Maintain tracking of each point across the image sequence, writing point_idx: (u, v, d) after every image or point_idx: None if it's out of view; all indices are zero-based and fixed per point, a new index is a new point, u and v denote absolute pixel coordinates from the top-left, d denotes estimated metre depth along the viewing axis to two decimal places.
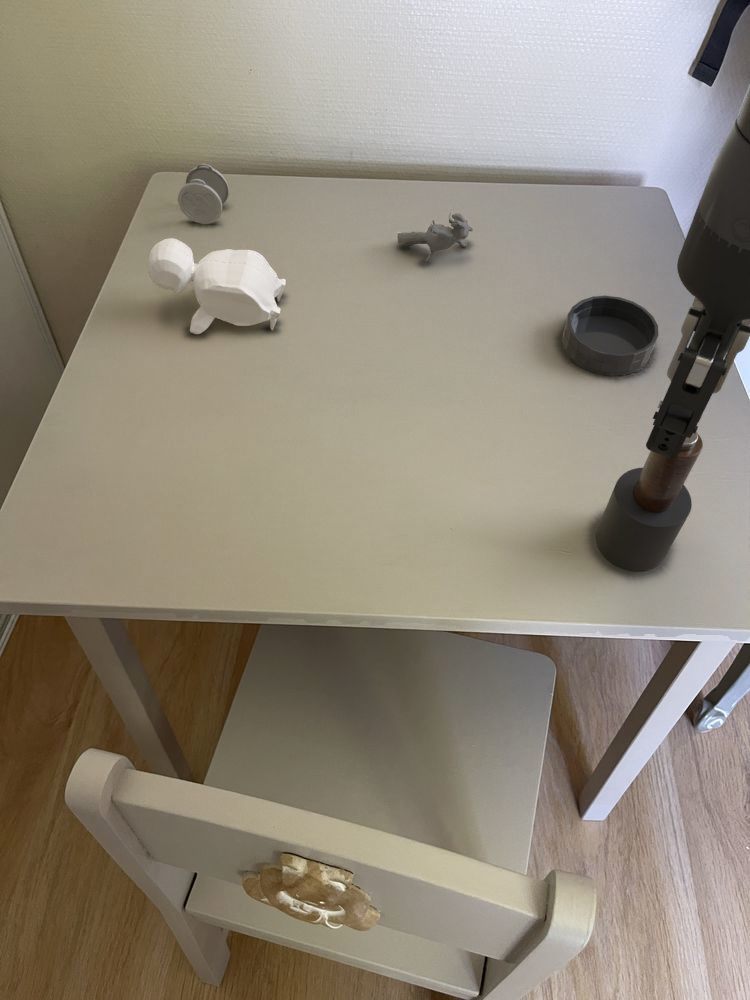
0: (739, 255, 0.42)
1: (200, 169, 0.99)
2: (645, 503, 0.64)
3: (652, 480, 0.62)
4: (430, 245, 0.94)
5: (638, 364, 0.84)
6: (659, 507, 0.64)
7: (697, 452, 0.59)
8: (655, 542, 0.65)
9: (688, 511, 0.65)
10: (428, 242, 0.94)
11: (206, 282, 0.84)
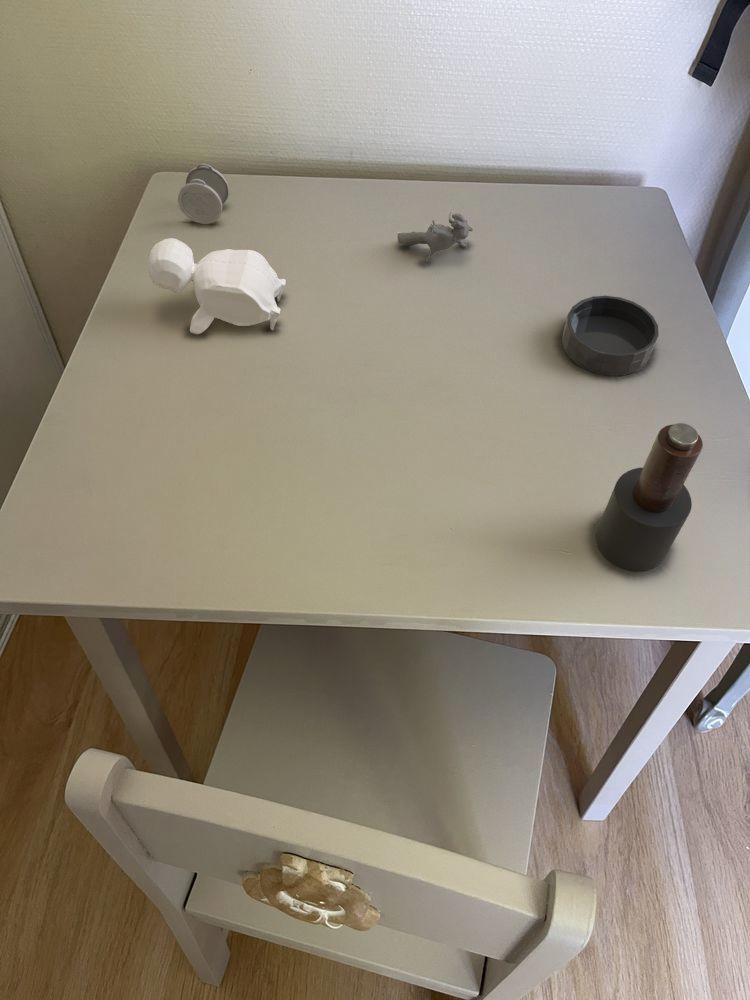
0: None
1: (200, 169, 0.99)
2: (645, 503, 0.64)
3: (652, 480, 0.62)
4: (430, 245, 0.94)
5: (638, 364, 0.84)
6: (659, 507, 0.64)
7: (697, 452, 0.59)
8: (655, 542, 0.65)
9: (688, 511, 0.65)
10: (428, 242, 0.94)
11: (206, 282, 0.84)
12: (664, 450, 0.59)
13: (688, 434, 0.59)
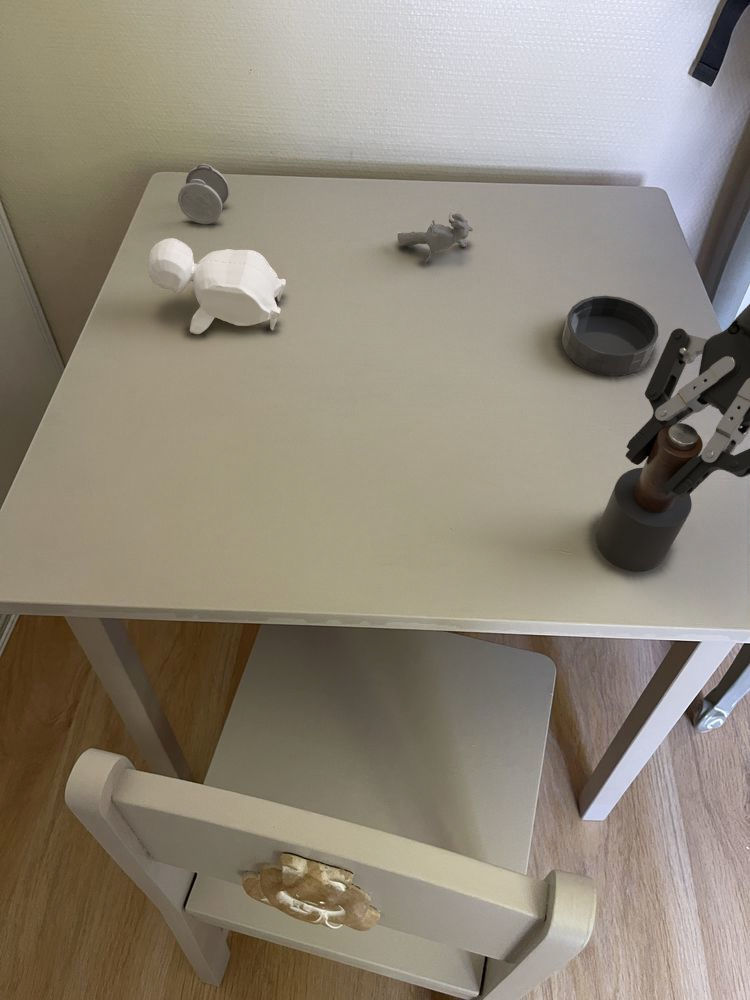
0: None
1: (200, 169, 0.99)
2: (645, 503, 0.64)
3: (652, 480, 0.62)
4: (430, 245, 0.94)
5: (638, 364, 0.84)
6: (659, 507, 0.64)
7: (697, 452, 0.59)
8: (655, 542, 0.65)
9: (688, 511, 0.65)
10: (428, 242, 0.94)
11: (206, 282, 0.84)
12: (664, 450, 0.59)
13: (688, 434, 0.59)
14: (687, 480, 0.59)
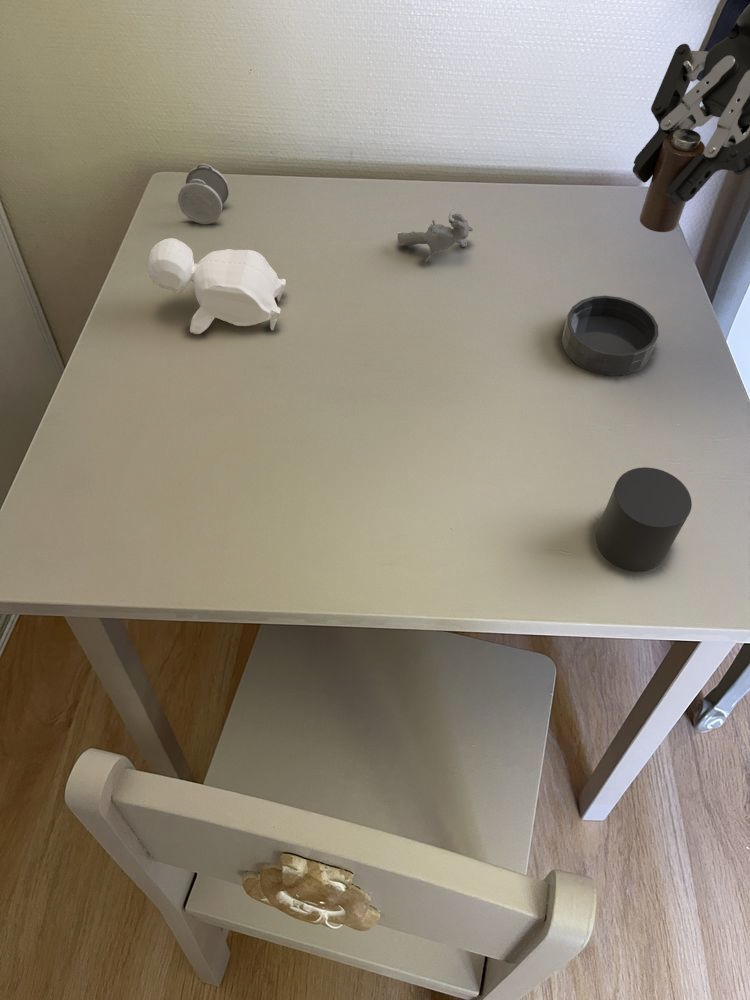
0: None
1: (200, 169, 0.99)
2: (651, 222, 0.69)
3: (657, 192, 0.67)
4: (430, 245, 0.94)
5: (638, 364, 0.84)
6: (664, 225, 0.69)
7: (700, 152, 0.64)
8: (655, 542, 0.65)
9: (688, 511, 0.65)
10: (428, 242, 0.94)
11: (206, 282, 0.84)
12: (669, 152, 0.64)
13: (691, 136, 0.64)
14: (690, 179, 0.64)
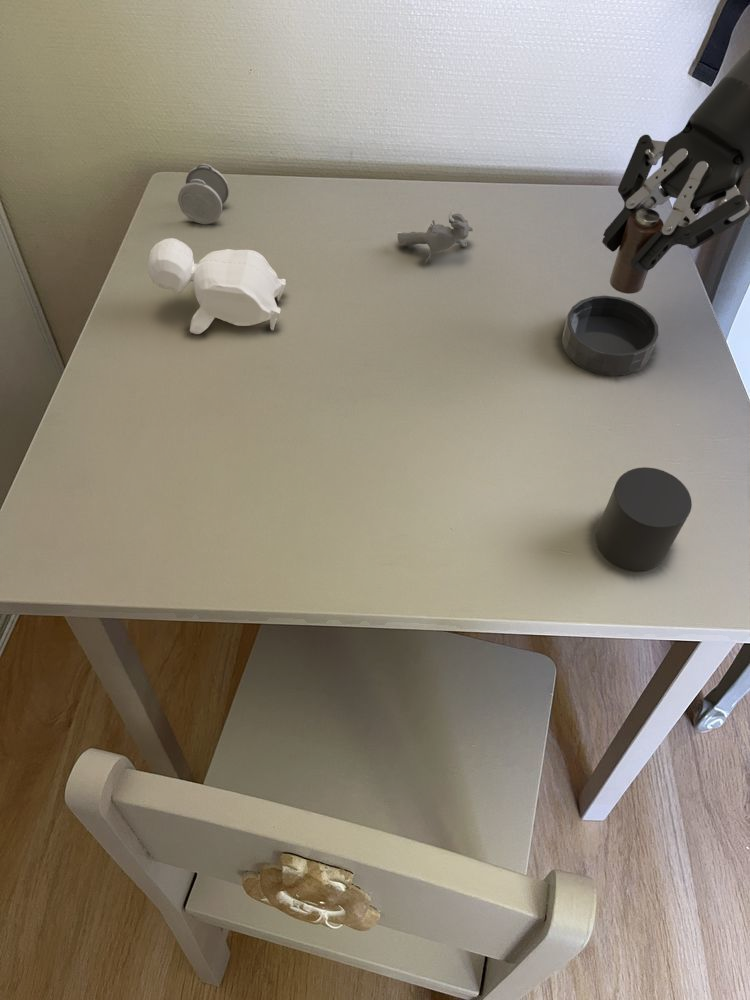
0: None
1: (200, 169, 0.99)
2: (619, 285, 0.79)
3: (623, 261, 0.77)
4: (430, 245, 0.94)
5: (638, 364, 0.84)
6: (630, 288, 0.79)
7: (659, 229, 0.74)
8: (655, 542, 0.65)
9: (688, 511, 0.65)
10: (428, 242, 0.94)
11: (206, 282, 0.84)
12: (632, 228, 0.74)
13: (651, 215, 0.74)
14: (651, 252, 0.74)
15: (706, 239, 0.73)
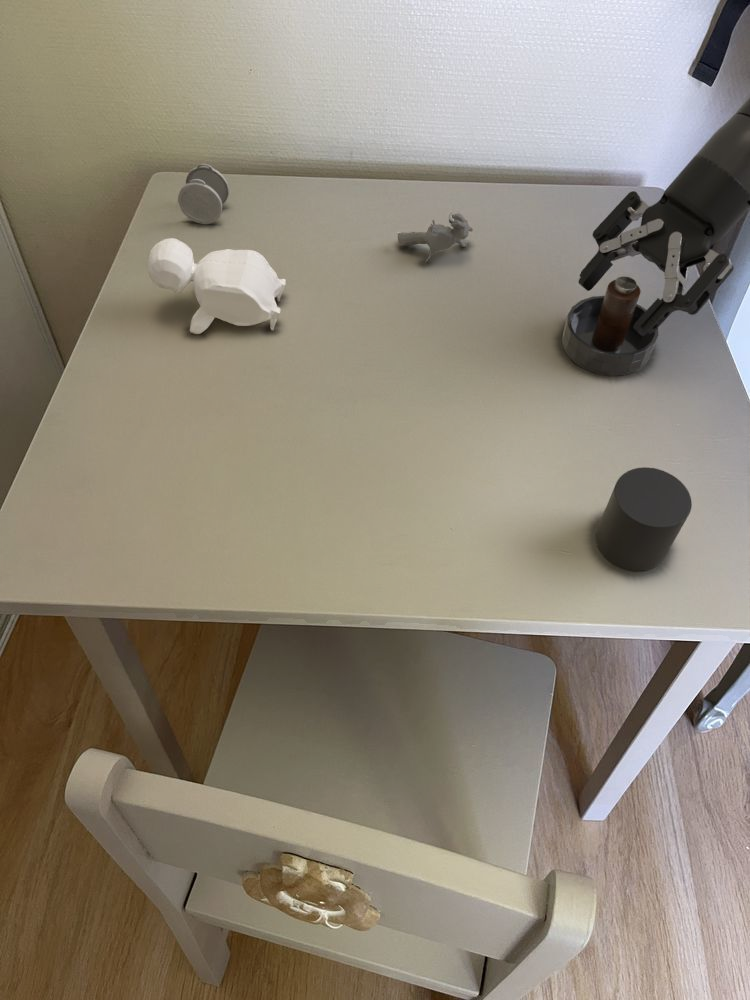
0: None
1: (200, 169, 0.99)
2: (600, 344, 0.85)
3: (604, 323, 0.83)
4: (430, 245, 0.94)
5: (638, 364, 0.84)
6: (611, 346, 0.85)
7: (636, 296, 0.80)
8: (655, 542, 0.65)
9: (688, 511, 0.65)
10: (428, 242, 0.94)
11: (206, 282, 0.84)
12: (612, 295, 0.81)
13: (629, 283, 0.80)
14: (652, 318, 0.78)
15: (704, 301, 0.77)
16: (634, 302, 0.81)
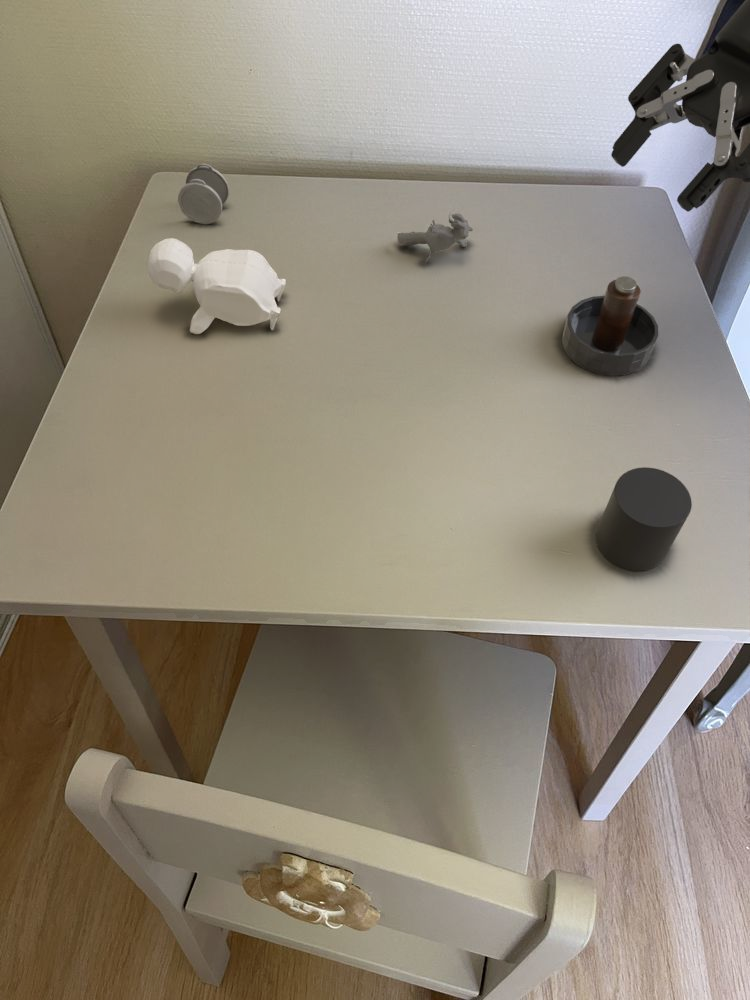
0: None
1: (200, 169, 0.99)
2: (600, 344, 0.85)
3: (604, 323, 0.83)
4: (430, 245, 0.94)
5: (638, 364, 0.84)
6: (611, 346, 0.85)
7: (636, 296, 0.80)
8: (655, 542, 0.65)
9: (688, 511, 0.65)
10: (428, 242, 0.94)
11: (206, 282, 0.84)
12: (612, 295, 0.81)
13: (629, 283, 0.80)
14: (700, 187, 0.67)
15: None
16: (634, 302, 0.81)
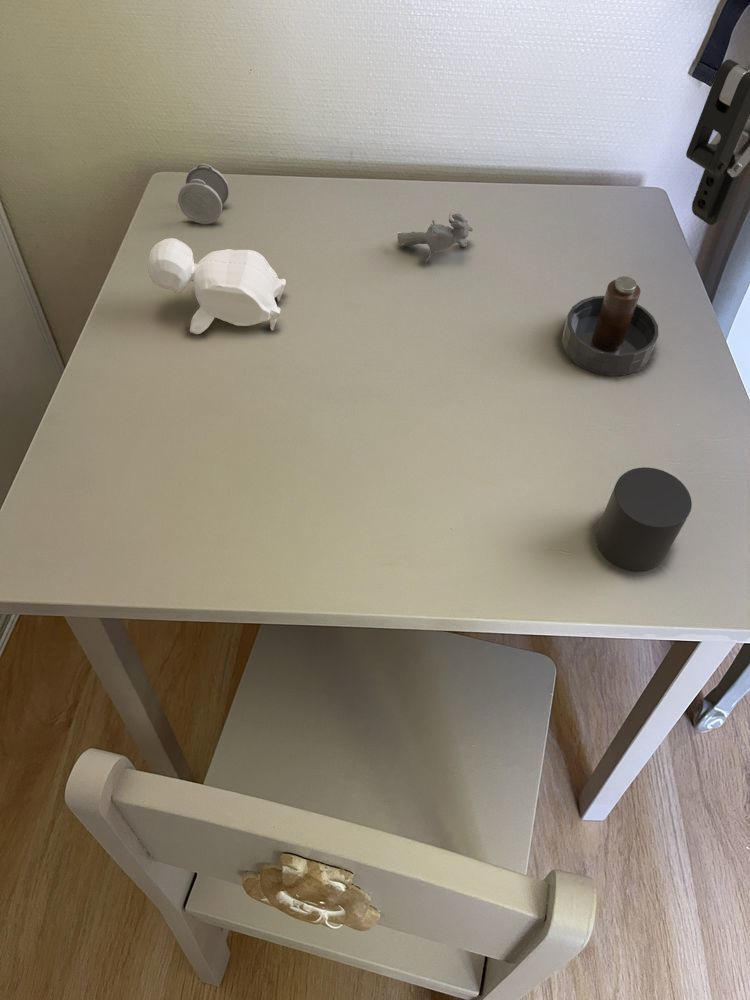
0: None
1: (200, 169, 0.99)
2: (600, 344, 0.85)
3: (604, 323, 0.83)
4: (430, 245, 0.94)
5: (638, 364, 0.84)
6: (611, 346, 0.85)
7: (636, 296, 0.80)
8: (655, 542, 0.65)
9: (688, 511, 0.65)
10: (428, 242, 0.94)
11: (206, 282, 0.84)
12: (612, 295, 0.81)
13: (629, 283, 0.80)
14: None
15: None
16: (634, 302, 0.81)
